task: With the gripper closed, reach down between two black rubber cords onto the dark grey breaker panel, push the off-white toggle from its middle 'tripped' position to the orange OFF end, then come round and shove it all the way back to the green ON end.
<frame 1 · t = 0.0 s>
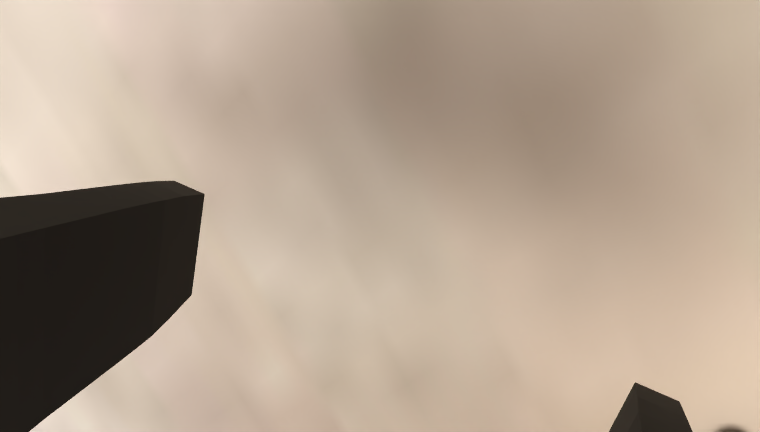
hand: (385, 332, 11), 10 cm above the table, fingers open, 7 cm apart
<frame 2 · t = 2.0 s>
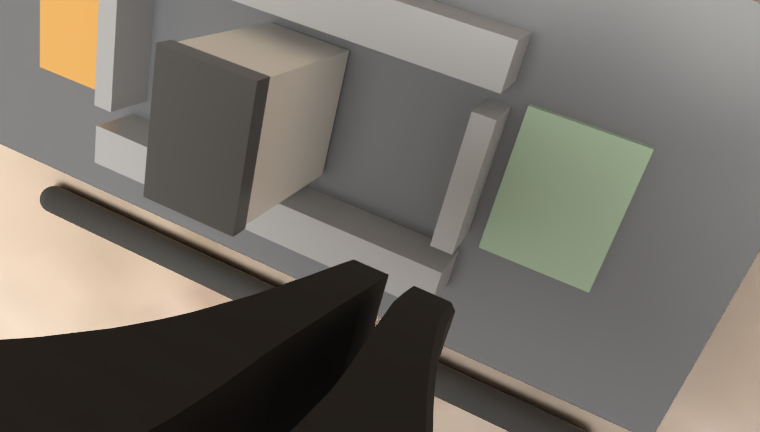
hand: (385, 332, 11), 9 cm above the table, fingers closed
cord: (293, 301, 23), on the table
lever: (252, 119, 17), point 4 cm above the table, slide at 0.0 cm
breaker panel: (323, 89, 20), on the table
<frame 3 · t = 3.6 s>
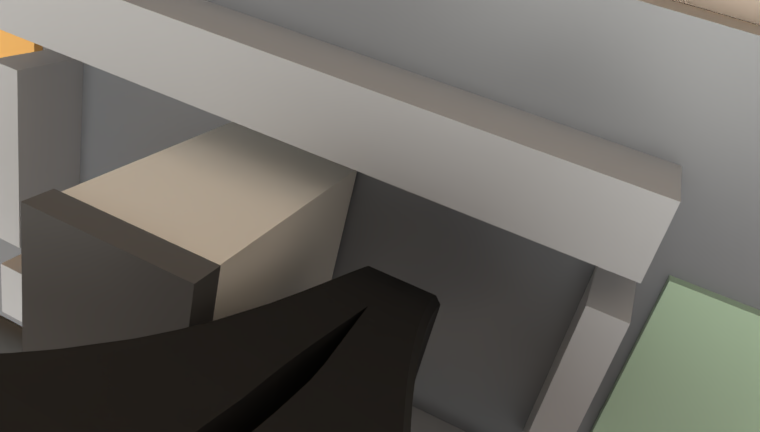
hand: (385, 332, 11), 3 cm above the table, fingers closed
lever: (204, 287, 11), point 4 cm above the table, slide at 0.3 cm, touching gripper
breaker panel: (331, 209, 14), on the table
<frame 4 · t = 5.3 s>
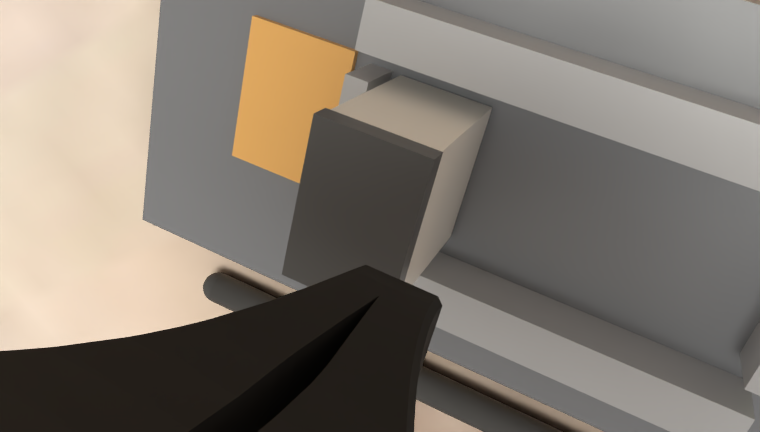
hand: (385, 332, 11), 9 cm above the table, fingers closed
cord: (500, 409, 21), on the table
lever: (393, 186, 15), point 4 cm above the table, slide at 3.5 cm
breaker panel: (570, 188, 18), on the table
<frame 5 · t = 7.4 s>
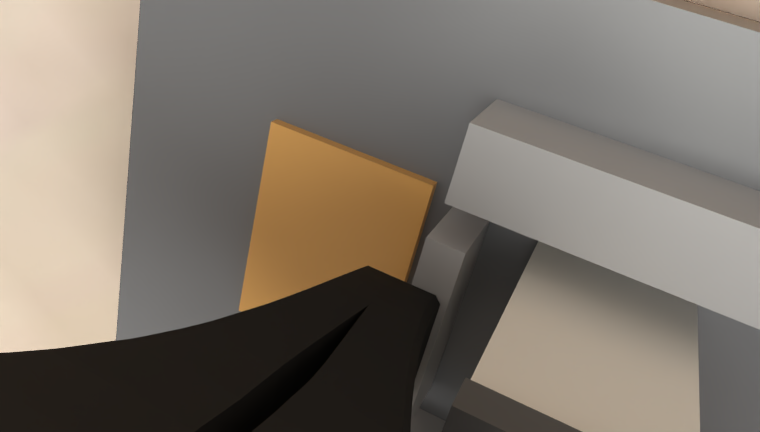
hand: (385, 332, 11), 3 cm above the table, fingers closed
breaker panel: (755, 385, 12), on the table
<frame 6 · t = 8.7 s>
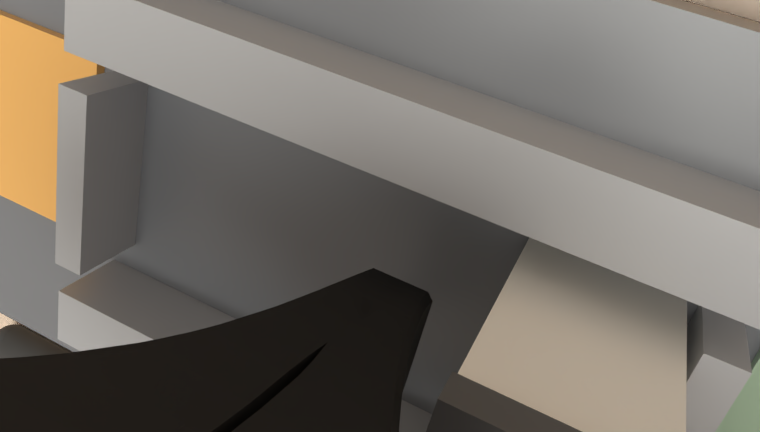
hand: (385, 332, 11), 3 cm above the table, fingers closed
breaker panel: (400, 235, 13), on the table
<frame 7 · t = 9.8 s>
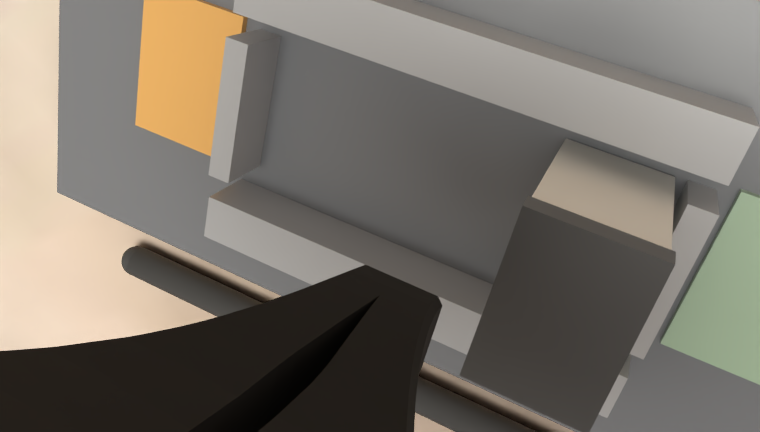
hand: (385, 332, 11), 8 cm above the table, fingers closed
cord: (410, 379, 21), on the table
lever: (575, 270, 14), point 4 cm above the table, slide at -3.5 cm
breaker panel: (464, 154, 18), on the table
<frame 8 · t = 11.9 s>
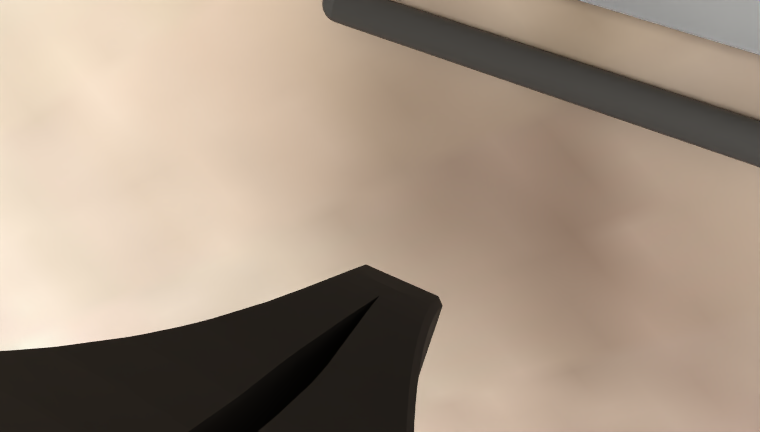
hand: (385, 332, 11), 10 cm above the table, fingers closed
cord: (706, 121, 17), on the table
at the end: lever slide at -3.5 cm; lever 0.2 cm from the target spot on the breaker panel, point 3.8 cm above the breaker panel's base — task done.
